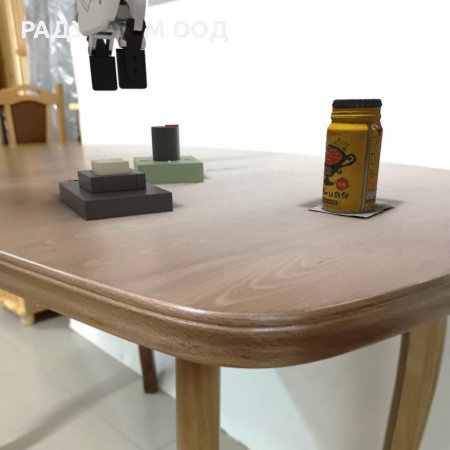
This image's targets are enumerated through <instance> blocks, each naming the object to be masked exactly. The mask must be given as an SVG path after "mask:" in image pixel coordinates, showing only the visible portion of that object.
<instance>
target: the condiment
mask: <svg viewBox="0 0 450 450" xmlns="http://www.w3.org/2000/svg"><path fill="white" fill-rule="evenodd" d="M383 105H384V104H383V101H382V99H381V98H341V99H340V98H337V99H334V100H332V104H331V107H332V108H331V113H330V120H331V122H330V123H329V125H328V126H327V128H326V133H325V135H326V136H325V148H324V149H325V150H324V151H325V152H324V164H323V181H322V197H321V203H322V204H319V205H317V206H315V207H311V208H309V210H311V211H317V212H322V213H328V214H333V215H334V214H335V215H342V216H357V217H364V218H368V217H371V216H374V215H376V214H378V213H381V212H382V211H384V210H385V209H388V208H390V207H392V206H393V205H395V203H390V202H389V203H385V202H383V203H382V202H376V201H377V200H376V199H377V194H378V193H377V192H378V182H379V181H378V179H379V172H380V171H379V170H380V161H381V152H382V144H383V134H384V128H383V126H382V122H381V119H382V106H383Z"/></svg>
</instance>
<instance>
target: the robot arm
mask: <svg viewBox="0 0 450 450" xmlns="http://www.w3.org/2000/svg"><path fill="white" fill-rule="evenodd" d="M146 8H147V0H76V12H77V23H78V31H79V34H81V35H82V36H83V37H86V42H87V43H88V44H87V53H88V61H89V70H90V80H91V81H90V82H91V89H92V90H93V91H94V92H116V91H118V88H119V89H121V90H146V89H147V88H148V76H147V59H146V47H147V40H146V37H145V33H146V29H147V23H146V19H145V18H146V10H147V9H146ZM115 40H116V41H117V45H118V47H117V48H115V56H114V55H113V49H114V43H115Z"/></svg>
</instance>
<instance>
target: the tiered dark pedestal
mask: <svg viewBox="0 0 450 450" xmlns="http://www.w3.org/2000/svg"><path fill="white" fill-rule="evenodd" d="M129 171H130V173H124V174H110V175H99V176H98V175H96V174H94V173H92V169H82V170H77V172H76V173H77V180H74V181H62V182H58V189H59V197H60V200H61V201H62V202H63V203H64V204H66V205H67V206H68V207H69V208H71V210H73V211H74V212H75V213H76V214H78V215H79V216H80V217H82V218H83V219H84V220H85V221H86V222H88V221H89V222H91V221H97V220H98V221H99V220H106V219H107V220H108V219H115V218H116V219H117V218H124V217H125V218H126V217H133V216H141V215H142V216H144V215H150V214H151V215H152V214H161V213H169V212H173V211H174V207H173V206H174V205H173V192H172V191H170V190H167V189H164V188H162V187H160V186H157V185H156V184H150V183H147V182H146V176H145V173H142V172H140V171H137V170H134V168H131V167H129Z"/></svg>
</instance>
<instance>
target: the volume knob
mask: <svg viewBox="0 0 450 450" xmlns="http://www.w3.org/2000/svg"><path fill="white" fill-rule="evenodd" d="M150 134H151V135H150V136H151V150H152V151H151V152H152V153H151V154H152V157H153V160H155V161H175V160H180V156H181V147H180V145H181V144H180V143H181V141H180V125H179V124H178V123H177V124H175V123H173V124H164V125H155V126H150Z"/></svg>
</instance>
